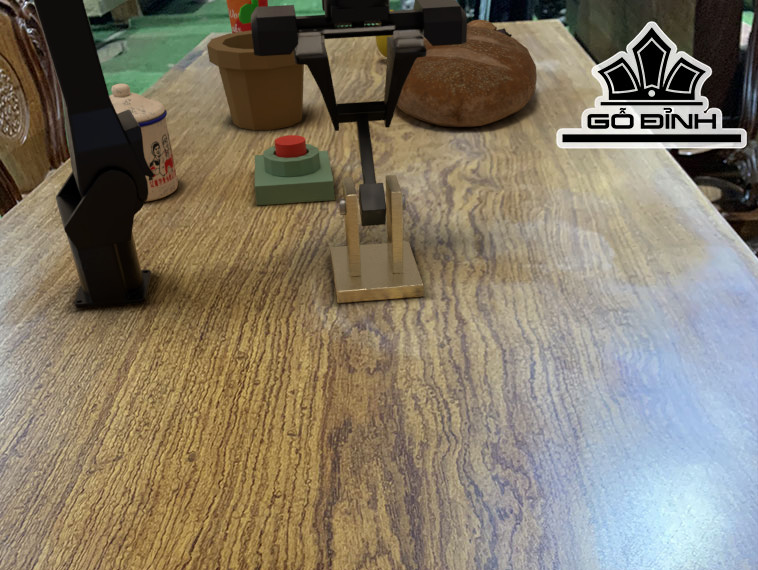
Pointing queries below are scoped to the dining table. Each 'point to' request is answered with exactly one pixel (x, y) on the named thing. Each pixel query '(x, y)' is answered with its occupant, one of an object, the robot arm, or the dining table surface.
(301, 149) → the button
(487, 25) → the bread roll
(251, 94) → the flowerpot
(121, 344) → the dining table surface
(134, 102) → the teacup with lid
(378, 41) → the lemon
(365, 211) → the press lever
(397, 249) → the lever base
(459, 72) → the bread
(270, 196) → the control block
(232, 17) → the paper cup
